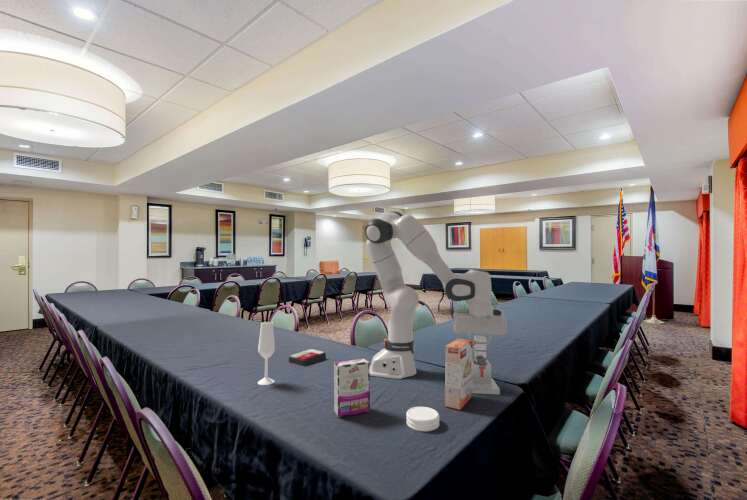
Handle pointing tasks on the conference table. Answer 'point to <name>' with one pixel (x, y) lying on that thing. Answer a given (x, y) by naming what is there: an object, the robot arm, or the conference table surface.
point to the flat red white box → (307, 357)
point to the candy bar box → (351, 387)
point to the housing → (483, 378)
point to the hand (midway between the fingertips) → (480, 345)
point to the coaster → (422, 418)
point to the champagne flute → (266, 348)
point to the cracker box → (458, 373)
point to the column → (479, 348)
